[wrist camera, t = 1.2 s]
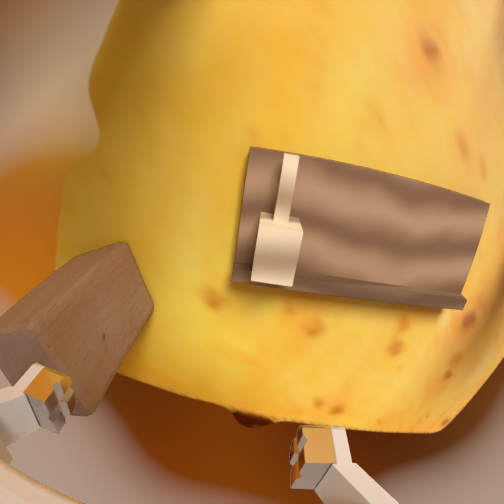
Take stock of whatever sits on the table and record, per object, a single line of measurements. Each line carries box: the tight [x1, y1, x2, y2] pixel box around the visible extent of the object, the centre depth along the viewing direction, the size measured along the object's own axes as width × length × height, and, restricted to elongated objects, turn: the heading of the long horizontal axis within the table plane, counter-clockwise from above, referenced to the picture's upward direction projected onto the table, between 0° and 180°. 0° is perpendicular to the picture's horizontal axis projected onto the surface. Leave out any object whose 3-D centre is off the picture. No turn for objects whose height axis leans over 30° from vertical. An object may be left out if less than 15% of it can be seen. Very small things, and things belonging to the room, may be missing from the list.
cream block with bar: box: [251, 153, 303, 287], centre depth 30 cm, size 13×4×5 cm, turn 172°
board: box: [231, 146, 490, 310], centre depth 33 cm, size 14×30×4 cm, turn 82°
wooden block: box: [0, 242, 154, 416], centre depth 30 cm, size 10×10×20 cm
